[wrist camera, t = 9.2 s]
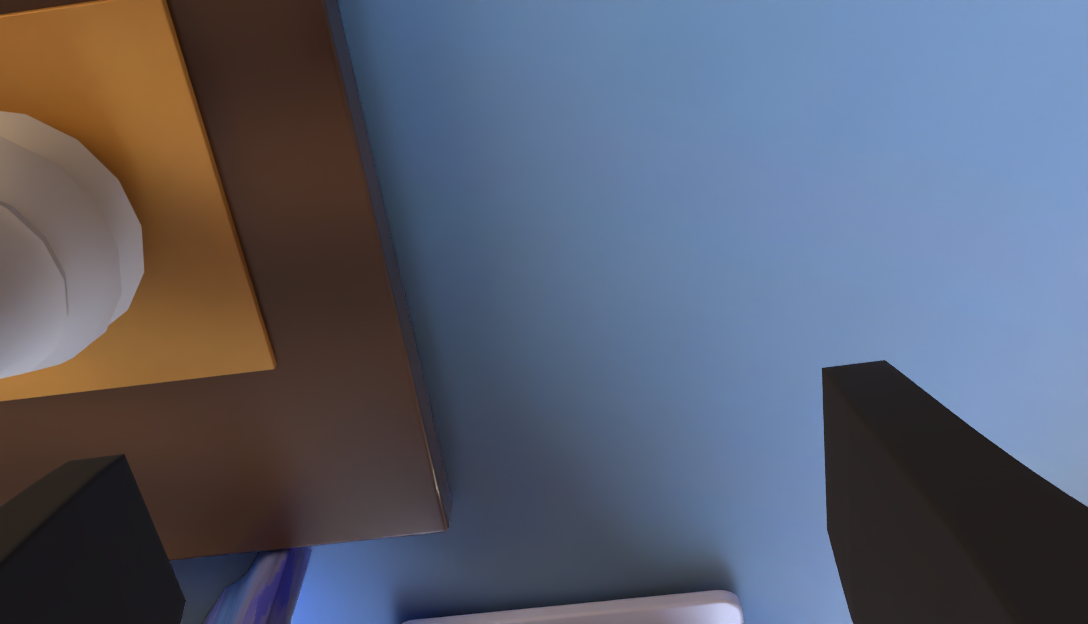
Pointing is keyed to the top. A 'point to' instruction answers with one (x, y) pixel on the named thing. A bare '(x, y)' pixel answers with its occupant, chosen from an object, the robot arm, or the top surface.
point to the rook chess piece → (59, 246)
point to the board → (230, 279)
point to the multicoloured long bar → (264, 590)
